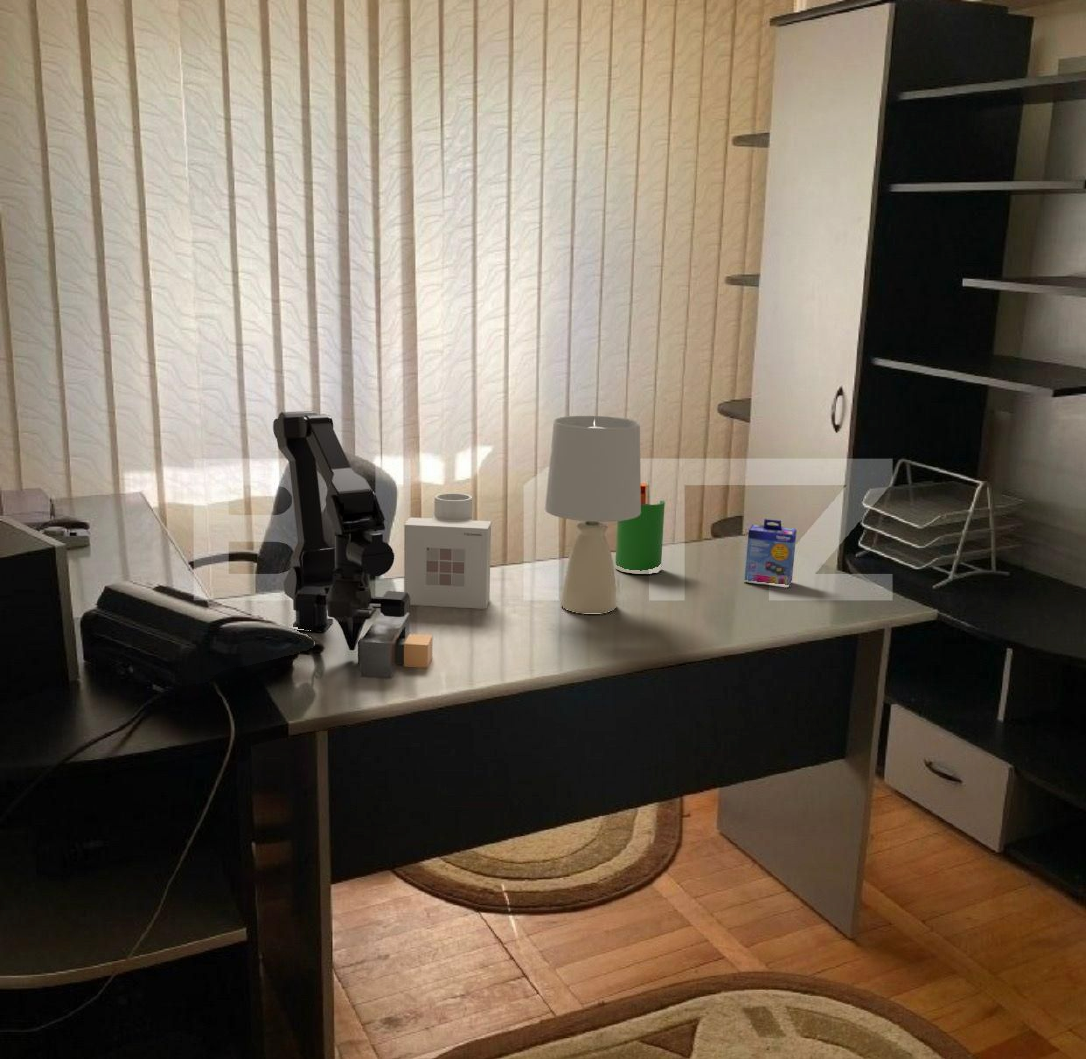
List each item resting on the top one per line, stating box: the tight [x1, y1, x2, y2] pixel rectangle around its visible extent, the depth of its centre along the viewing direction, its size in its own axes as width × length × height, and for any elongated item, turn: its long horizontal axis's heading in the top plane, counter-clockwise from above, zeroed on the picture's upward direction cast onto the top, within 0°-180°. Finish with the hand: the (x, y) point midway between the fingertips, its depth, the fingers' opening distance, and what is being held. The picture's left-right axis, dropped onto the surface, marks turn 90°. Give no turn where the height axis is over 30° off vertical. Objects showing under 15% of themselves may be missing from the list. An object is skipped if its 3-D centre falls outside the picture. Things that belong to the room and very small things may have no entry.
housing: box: [359, 612, 411, 679], centre depth 190 cm, size 16×5×6 cm, turn 176°
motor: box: [615, 483, 666, 571], centre depth 248 cm, size 10×9×20 cm
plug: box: [357, 633, 433, 669], centre depth 190 cm, size 5×12×4 cm, turn 87°
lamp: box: [544, 415, 642, 613], centre depth 219 cm, size 19×19×37 cm
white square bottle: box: [403, 492, 492, 610], centre depth 227 cm, size 16×19×20 cm
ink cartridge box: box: [743, 518, 797, 586], centre depth 242 cm, size 10×6×14 cm, turn 72°
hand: (352, 649), depth 191 cm, fingers closed
